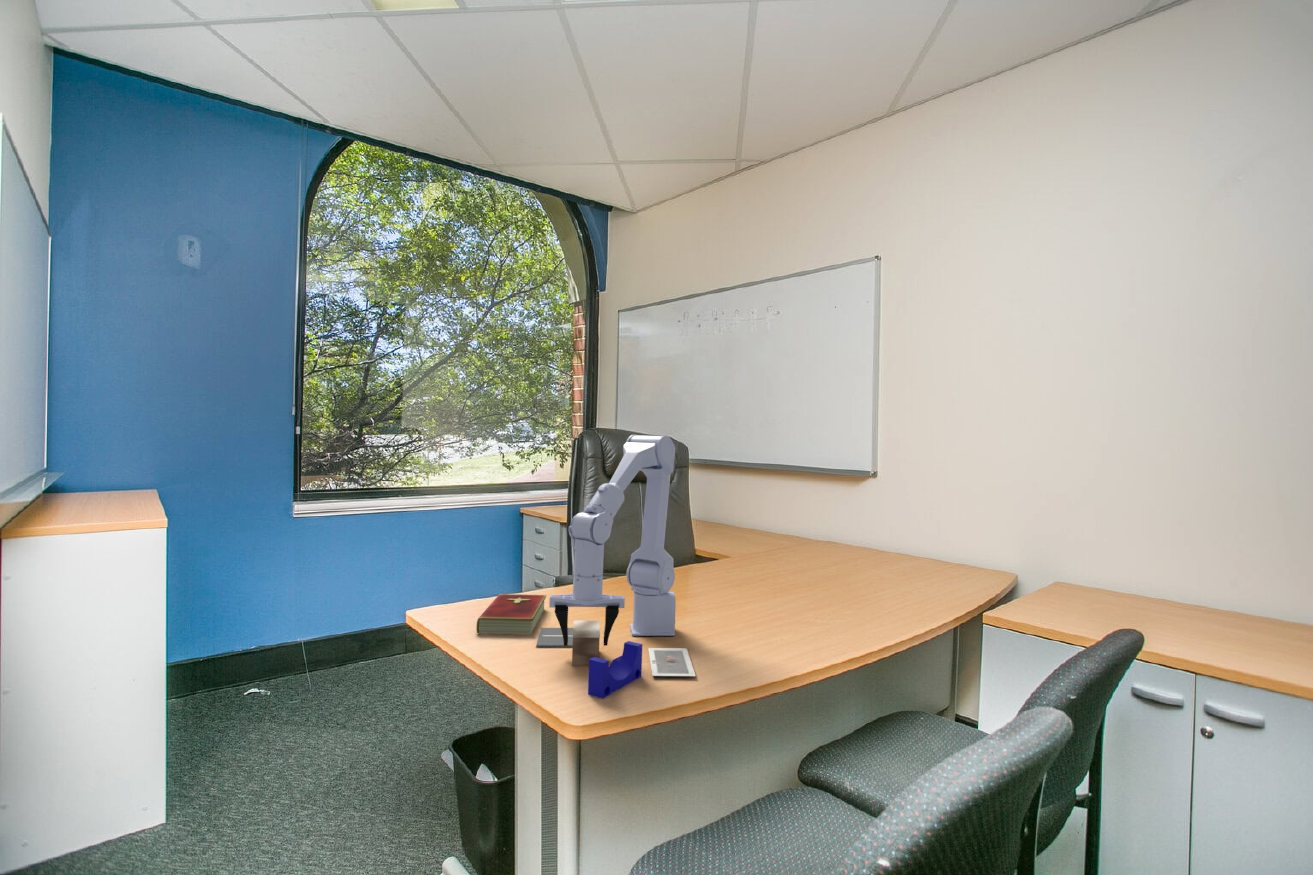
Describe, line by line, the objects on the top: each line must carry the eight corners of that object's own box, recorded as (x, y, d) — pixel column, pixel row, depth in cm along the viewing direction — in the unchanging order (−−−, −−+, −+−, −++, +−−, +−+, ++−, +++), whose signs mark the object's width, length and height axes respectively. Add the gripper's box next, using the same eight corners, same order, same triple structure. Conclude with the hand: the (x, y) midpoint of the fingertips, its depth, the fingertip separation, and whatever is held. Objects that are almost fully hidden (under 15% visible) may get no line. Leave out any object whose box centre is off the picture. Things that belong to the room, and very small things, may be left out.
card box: (598, 650, 127) (599, 620, 127) (598, 666, 118) (599, 634, 118) (572, 650, 126) (573, 620, 127) (571, 666, 117) (572, 634, 117)
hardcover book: (476, 635, 135) (476, 616, 135) (497, 609, 156) (497, 592, 156) (532, 637, 135) (532, 617, 135) (545, 610, 156) (546, 593, 156)
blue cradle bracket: (620, 671, 116) (621, 639, 116) (641, 677, 113) (642, 644, 113) (580, 693, 105) (582, 657, 105) (602, 699, 103) (603, 662, 103)
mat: (595, 629, 140) (595, 627, 140) (595, 647, 128) (595, 644, 128) (540, 629, 139) (540, 627, 139) (536, 647, 127) (536, 644, 127)
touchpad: (686, 653, 128) (686, 643, 128) (695, 682, 113) (696, 670, 113) (648, 653, 127) (648, 642, 127) (652, 681, 112) (652, 669, 112)
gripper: (549, 578, 118) (546, 650, 117) (626, 579, 119) (623, 650, 119) (551, 570, 125) (549, 638, 124) (624, 571, 126) (622, 639, 126)
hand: (585, 643), depth 122 cm, fingers open, 7 cm apart
